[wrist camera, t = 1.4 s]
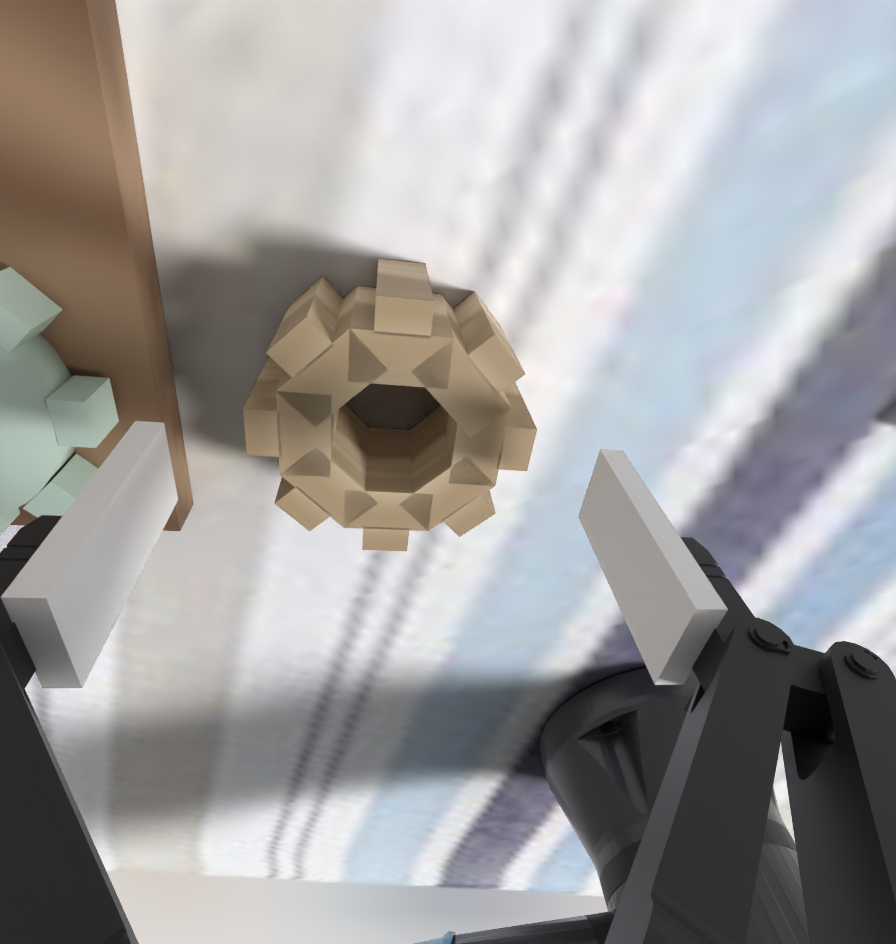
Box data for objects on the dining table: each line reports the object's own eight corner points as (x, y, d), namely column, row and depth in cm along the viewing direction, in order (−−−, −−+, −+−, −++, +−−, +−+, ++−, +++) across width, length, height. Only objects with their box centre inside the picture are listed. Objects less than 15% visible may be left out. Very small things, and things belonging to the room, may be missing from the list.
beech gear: (488, 486, 27) (506, 554, 23) (276, 475, 26) (254, 546, 22) (530, 275, 22) (564, 314, 18) (263, 246, 20) (231, 281, 16)
